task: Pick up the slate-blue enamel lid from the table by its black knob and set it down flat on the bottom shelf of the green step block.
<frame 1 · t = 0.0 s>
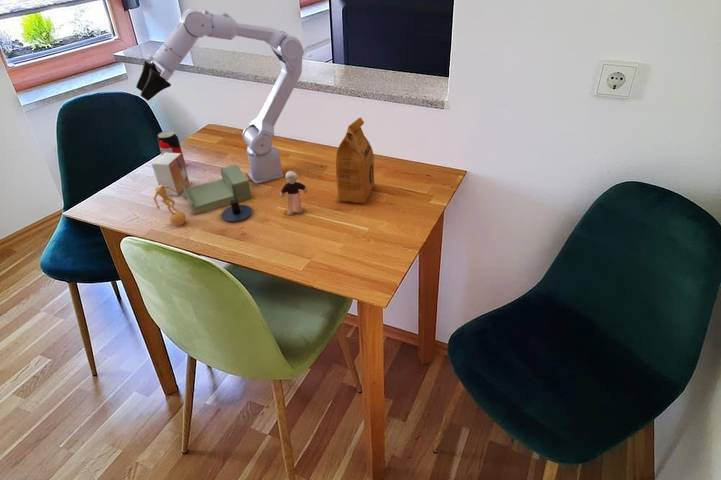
hand: (141, 93, 124), 32 cm above the table, tool tilted 50°, fingers open, 7 cm apart
figurine: (176, 224, 133), on the table
green step block: (218, 197, 143), on the table
coffee package: (357, 195, 142), on the table
beverage can: (176, 168, 160), on the table
grandmother figurine: (296, 211, 135), on the table
lid: (237, 214, 135), on the table
small box: (176, 189, 148), on the table
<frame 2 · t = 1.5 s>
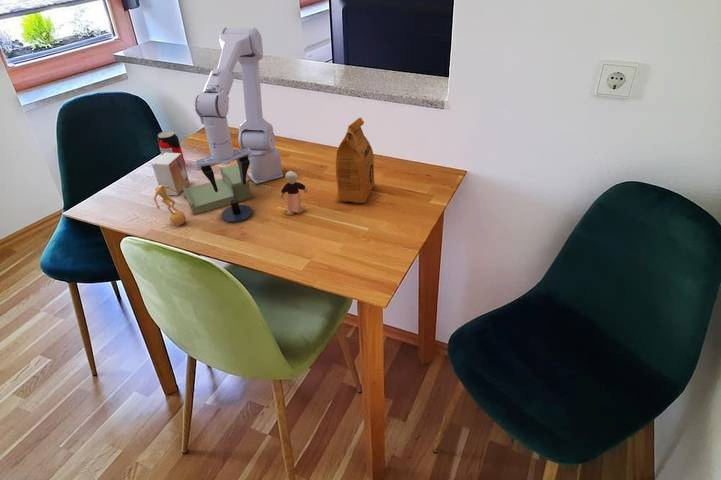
hand: (230, 186, 130), 9 cm above the table, tool pointing down, fingers open, 7 cm apart
nothing on the table moved.
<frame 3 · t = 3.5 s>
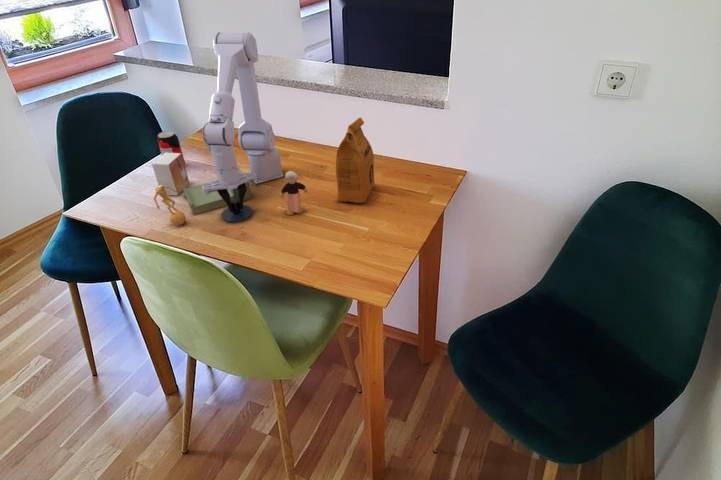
hand: (235, 209, 134), 2 cm above the table, tool pointing down, fingers closed on lid, 2 cm apart
lid: (237, 214, 135), on the table, touching gripper
everything else where it was.
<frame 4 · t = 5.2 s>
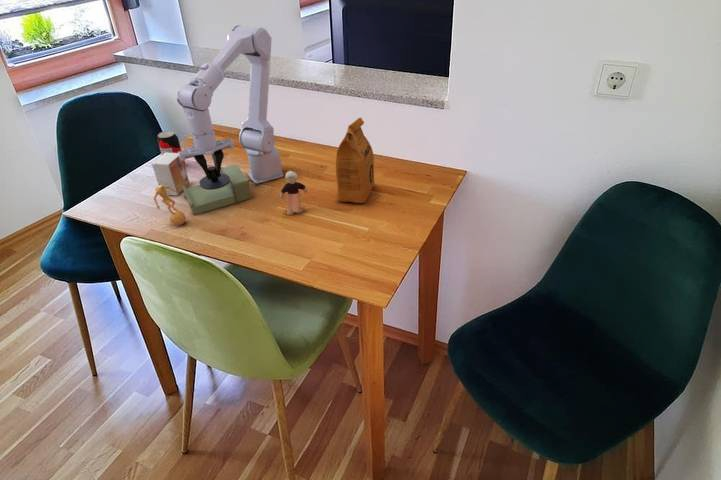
hand: (213, 176, 134), 9 cm above the table, tool pointing down, fingers closed on lid, 2 cm apart
lid: (215, 182, 135), point 8 cm above the table, touching gripper
everything else where it was.
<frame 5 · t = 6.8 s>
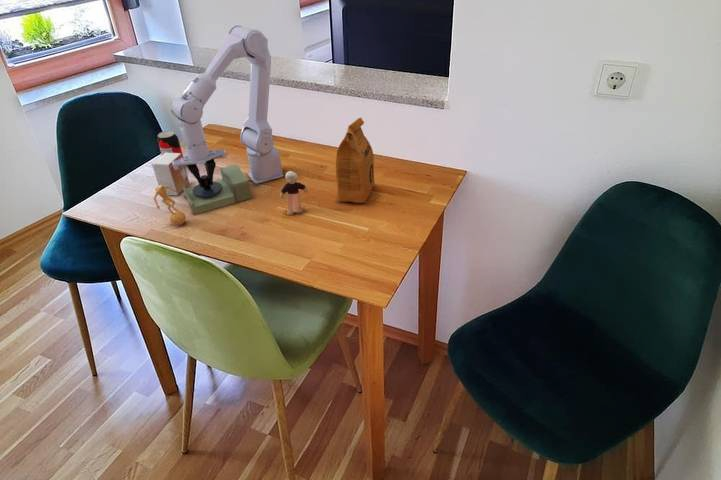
hand: (206, 185, 140), 5 cm above the table, tool pointing down, fingers closed on lid, 2 cm apart
lid: (207, 190, 141), point 3 cm above the table, touching gripper
everything else where it was.
when the fingers open (4 cm above the table, at t = 7.3 s): lid stays where it is, resting on green step block.
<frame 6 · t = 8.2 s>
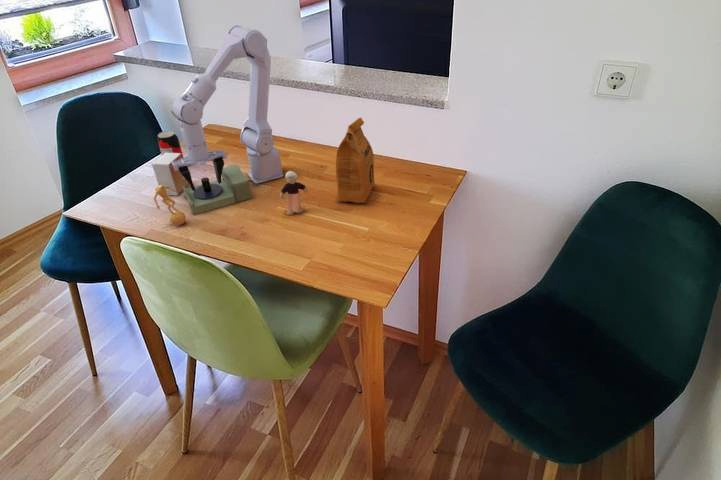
hand: (206, 185, 140), 5 cm above the table, tool pointing down, fingers open, 7 cm apart
lid: (208, 192, 141), point 2 cm above the table, touching green step block
everything else where it was.
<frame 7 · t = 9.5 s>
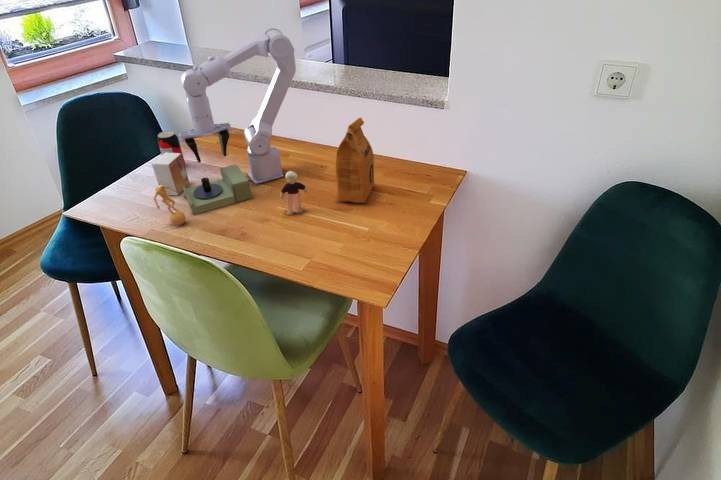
hand: (211, 158, 144), 9 cm above the table, tool pointing down, fingers open, 7 cm apart
nothing on the table moved.
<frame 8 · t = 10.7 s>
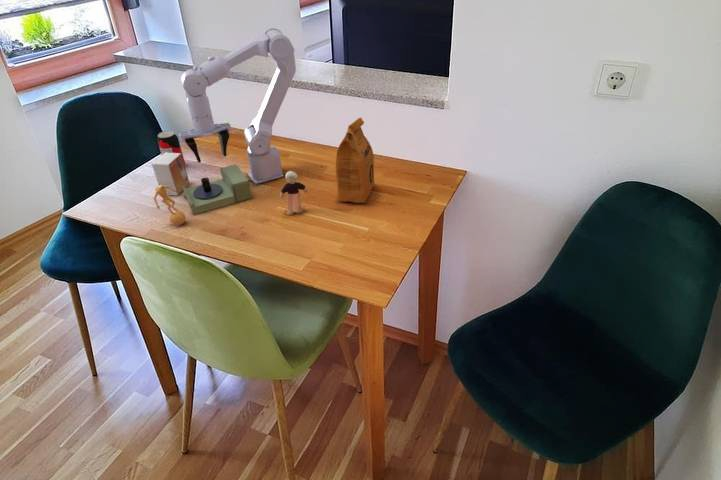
hand: (211, 158, 144), 9 cm above the table, tool pointing down, fingers open, 7 cm apart
nothing on the table moved.
at the end: lid inside the target area on the green step block (0.0 cm from its centre), point 2.4 cm above the green step block's base; lid tilted 0°; the gripper is holding nothing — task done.
